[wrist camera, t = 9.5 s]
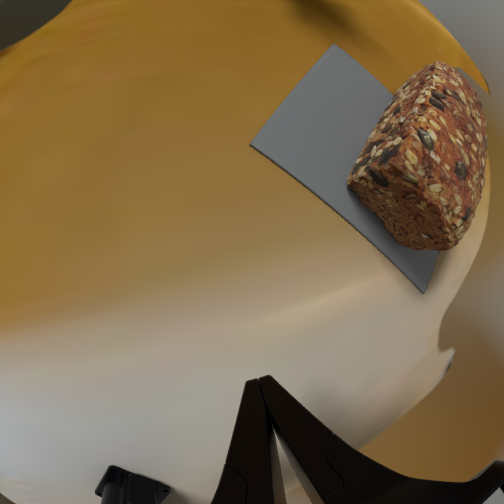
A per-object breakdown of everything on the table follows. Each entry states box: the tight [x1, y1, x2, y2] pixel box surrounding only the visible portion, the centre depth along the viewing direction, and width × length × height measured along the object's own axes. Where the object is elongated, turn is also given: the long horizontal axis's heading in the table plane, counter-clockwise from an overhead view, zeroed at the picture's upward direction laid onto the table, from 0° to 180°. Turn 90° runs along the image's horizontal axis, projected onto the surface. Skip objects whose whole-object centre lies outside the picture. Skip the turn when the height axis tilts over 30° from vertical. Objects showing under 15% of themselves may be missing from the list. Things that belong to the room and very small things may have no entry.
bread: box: [347, 61, 487, 251], centre depth 20 cm, size 19×11×10 cm, turn 143°
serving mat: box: [249, 44, 439, 293], centre depth 24 cm, size 18×24×1 cm
